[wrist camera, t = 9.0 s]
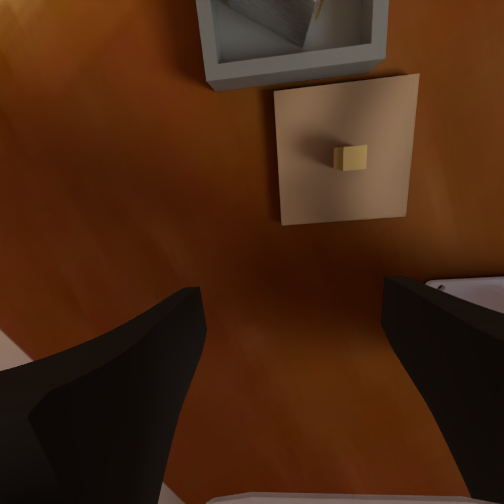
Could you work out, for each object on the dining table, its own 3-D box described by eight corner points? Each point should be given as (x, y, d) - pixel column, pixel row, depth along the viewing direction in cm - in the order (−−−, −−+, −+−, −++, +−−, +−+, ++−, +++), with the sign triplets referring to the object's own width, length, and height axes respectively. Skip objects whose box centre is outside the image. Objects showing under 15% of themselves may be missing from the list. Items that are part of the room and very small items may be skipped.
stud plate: (412, 77, 16) (446, 59, 13) (400, 213, 18) (425, 226, 15) (273, 93, 17) (274, 80, 14) (281, 222, 19) (283, 236, 16)
